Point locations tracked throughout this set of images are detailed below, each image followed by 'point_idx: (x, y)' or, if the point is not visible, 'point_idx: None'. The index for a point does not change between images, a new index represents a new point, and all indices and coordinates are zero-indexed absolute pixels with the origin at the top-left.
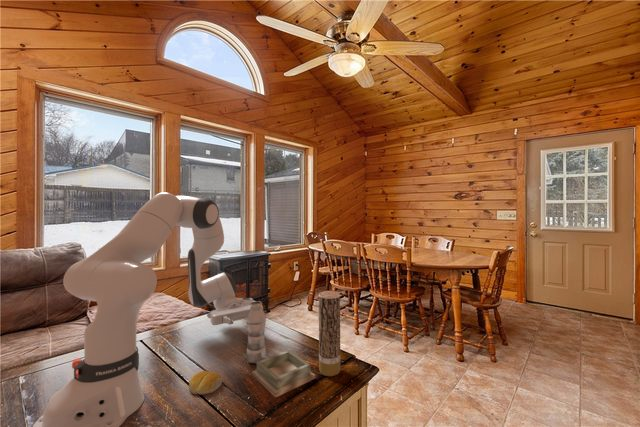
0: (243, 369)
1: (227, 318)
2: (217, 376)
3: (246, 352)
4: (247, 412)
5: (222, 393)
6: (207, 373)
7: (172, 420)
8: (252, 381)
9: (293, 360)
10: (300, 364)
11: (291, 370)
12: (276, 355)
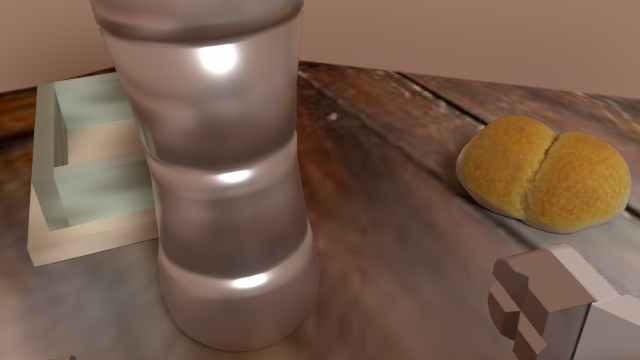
0: (345, 255)
1: (636, 304)
2: (480, 136)
3: (317, 255)
4: (342, 81)
5: (440, 144)
6: (545, 158)
7: (581, 94)
8: (306, 172)
9: (61, 160)
10: (59, 124)
11: (107, 156)
12: (139, 156)
